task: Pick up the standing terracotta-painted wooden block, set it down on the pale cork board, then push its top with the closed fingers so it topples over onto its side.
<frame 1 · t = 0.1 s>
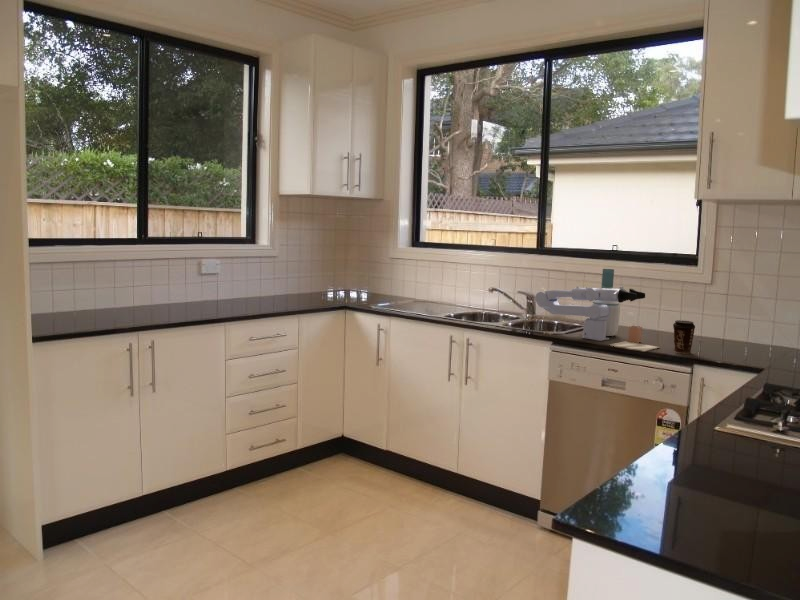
hand: (640, 296, 294), 22 cm above the counter, tool horizontal, fingers open, 7 cm apart
coffee cup: (681, 352, 284), on the counter
soap bottle: (603, 335, 322), on the counter
board: (634, 347, 293), on the counter
block: (634, 342, 304), on the counter
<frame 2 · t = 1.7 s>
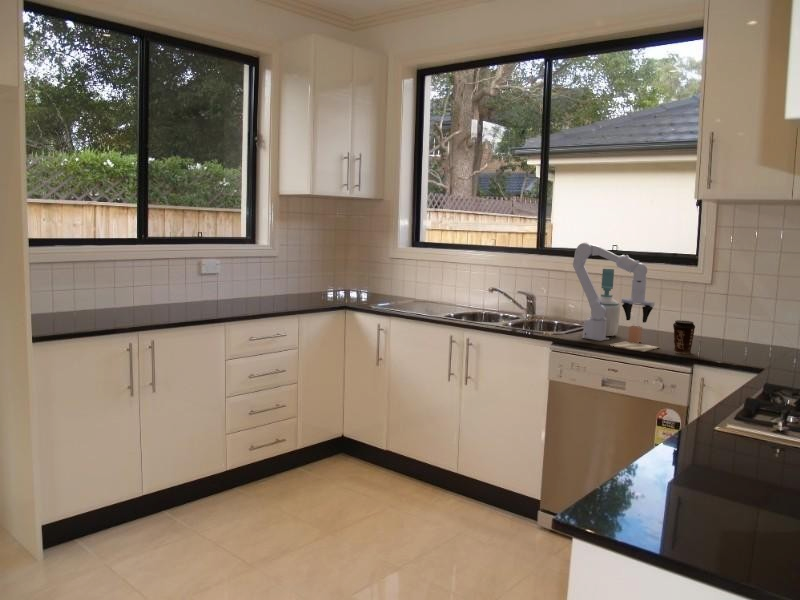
hand: (636, 321, 303), 9 cm above the counter, tool pointing down, fingers open, 7 cm apart
nothing on the counter moved.
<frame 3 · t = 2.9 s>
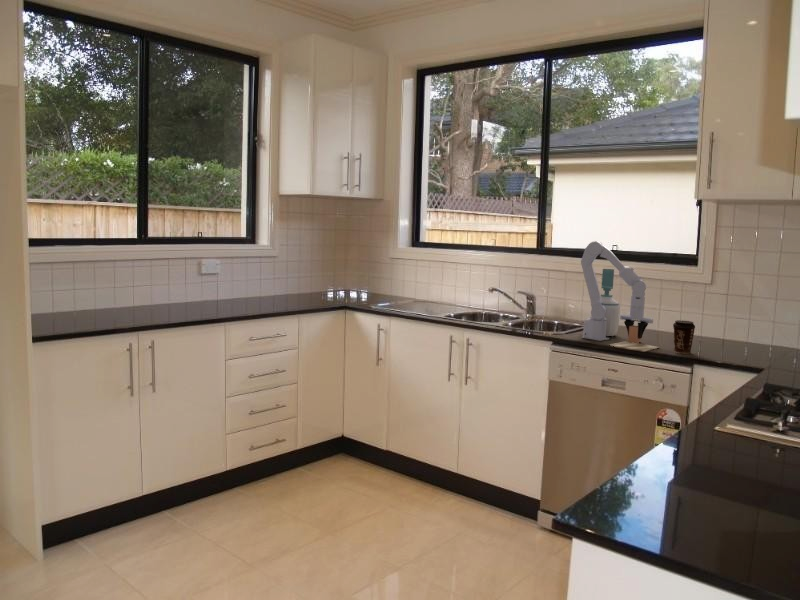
hand: (635, 337, 304), 2 cm above the counter, tool pointing down, fingers closed on block, 4 cm apart
block: (634, 342, 304), on the counter, touching gripper
everything else where it was.
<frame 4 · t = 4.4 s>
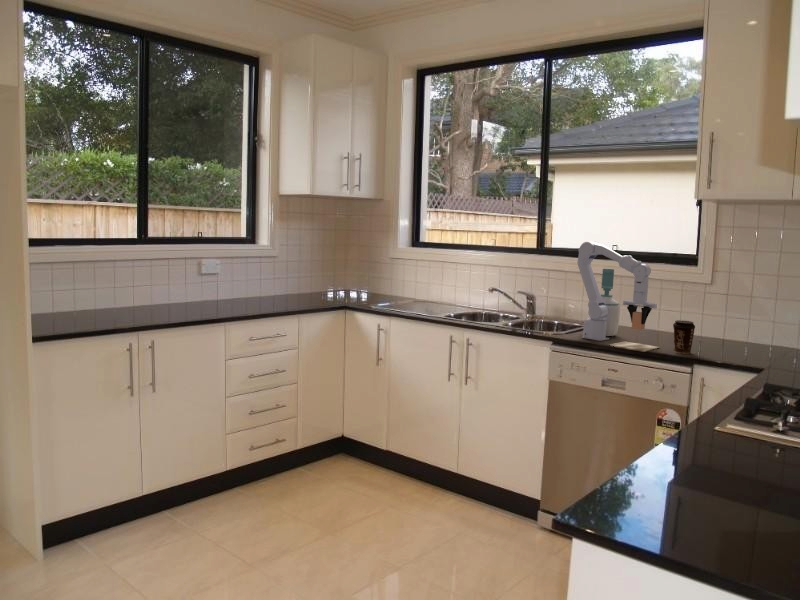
hand: (638, 323, 298), 9 cm above the counter, tool pointing down, fingers closed on block, 4 cm apart
block: (638, 328, 298), point 7 cm above the counter, touching gripper
everything else where it was.
when the fingers open (3 cm above the counter, at t = 6.2 s): block stays where it is, resting on board.
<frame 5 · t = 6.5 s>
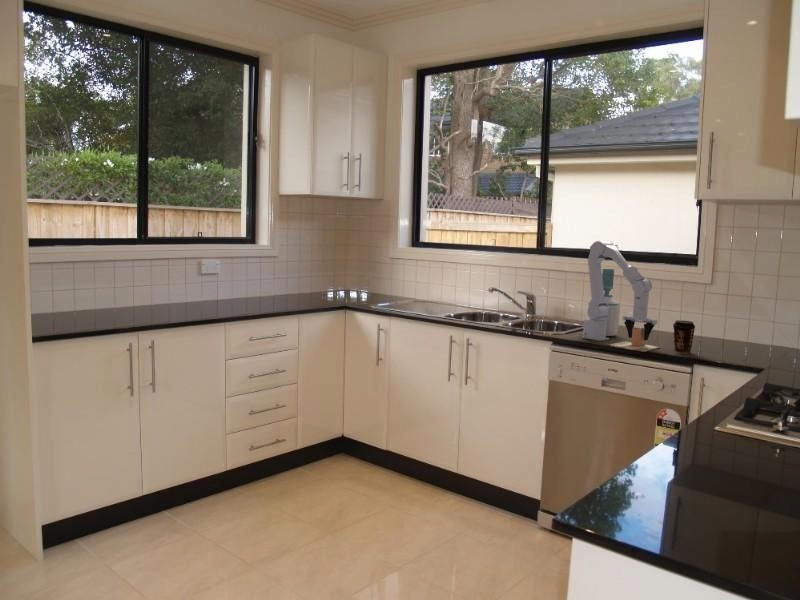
hand: (638, 338, 294), 3 cm above the counter, tool pointing down, fingers open, 6 cm apart
block: (637, 345, 295), resting on board
everything else where it was.
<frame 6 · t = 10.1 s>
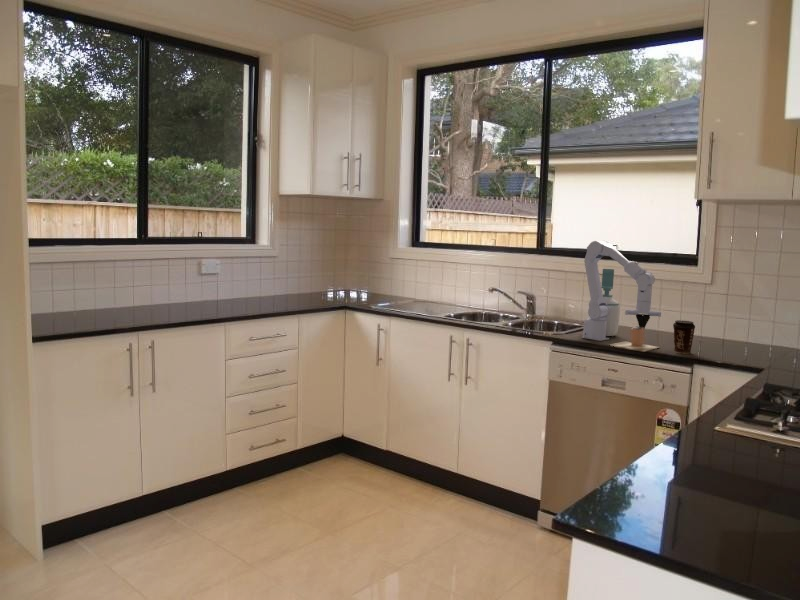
hand: (641, 332, 296), 6 cm above the counter, tool pointing down, fingers closed
block: (637, 344, 295), point 1 cm above the counter, tilted 13°, touching board
everything else where it was.
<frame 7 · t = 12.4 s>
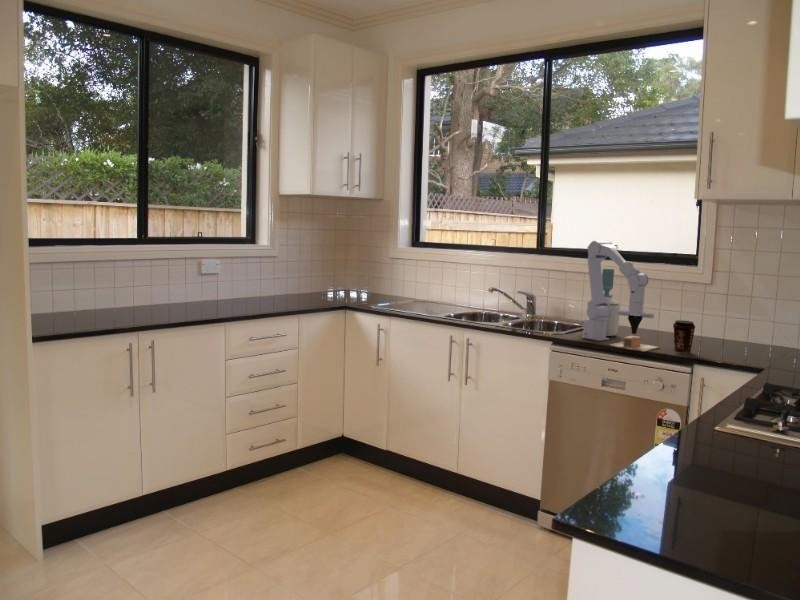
hand: (634, 333, 291), 6 cm above the counter, tool pointing down, fingers closed
block: (636, 340, 293), point 2 cm above the counter, tilted 90°, touching board
everything else where it was.
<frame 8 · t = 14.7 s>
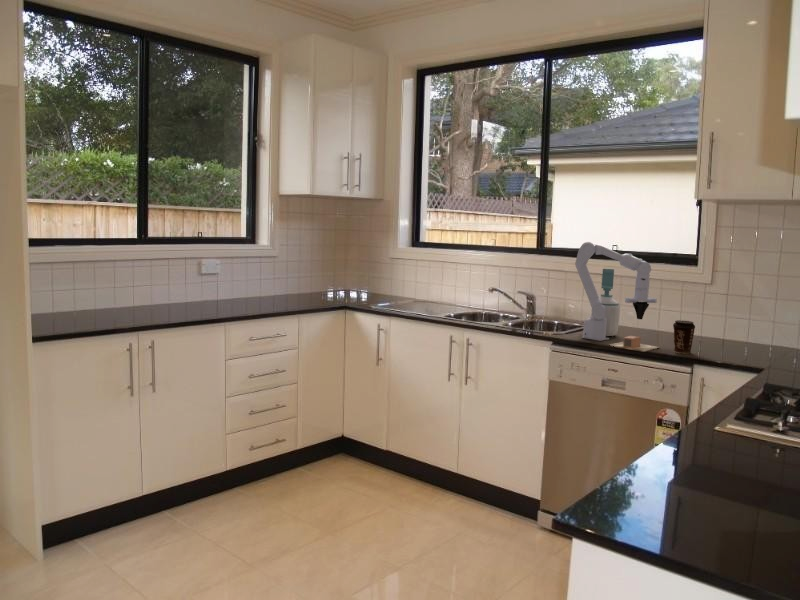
hand: (639, 319, 304), 10 cm above the counter, tool pointing down, fingers closed
nothing on the counter moved.
at the end: block tilted 90°; block inside the target area on the board (1.7 cm from its centre), point 2.5 cm above the board's base; the gripper is holding nothing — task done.
